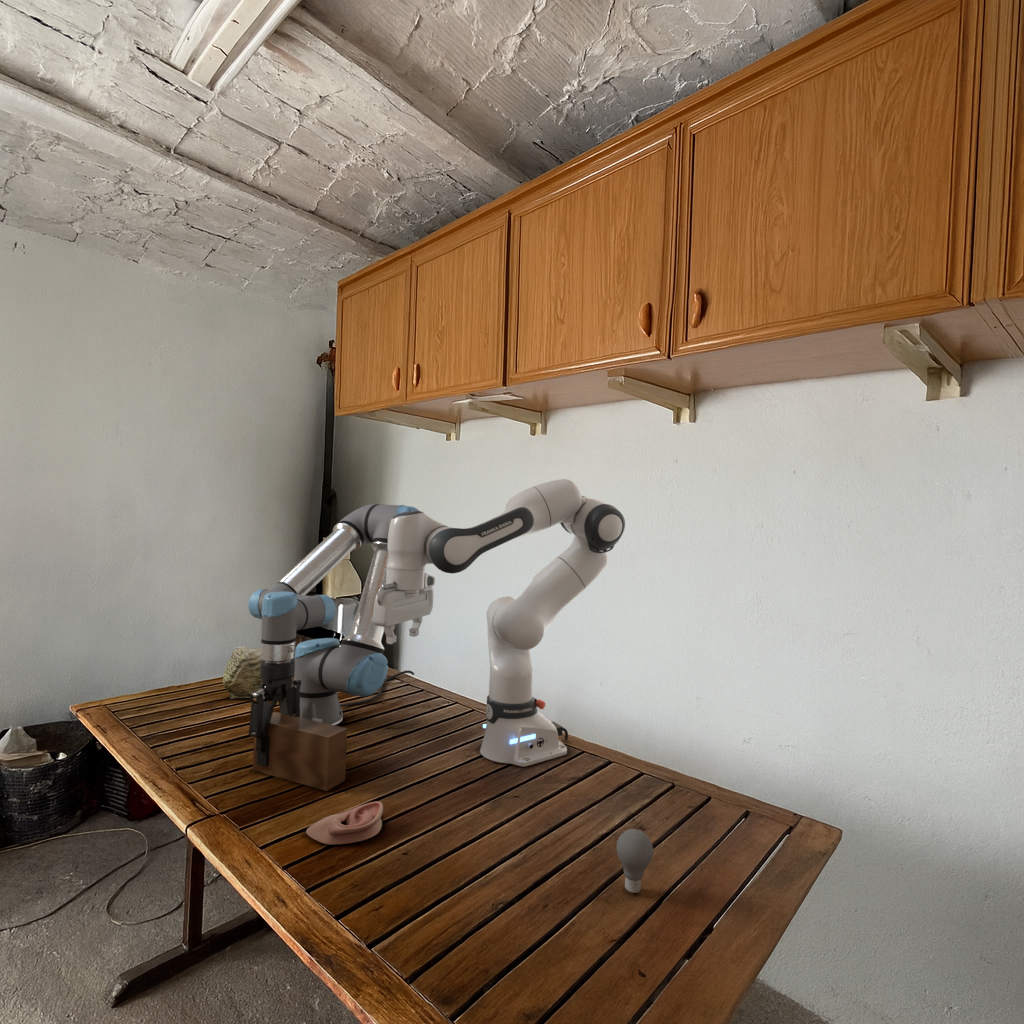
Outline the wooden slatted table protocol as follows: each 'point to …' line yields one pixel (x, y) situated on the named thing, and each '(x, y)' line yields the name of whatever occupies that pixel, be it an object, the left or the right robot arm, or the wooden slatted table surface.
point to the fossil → (243, 672)
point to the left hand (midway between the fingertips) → (274, 758)
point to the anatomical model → (348, 825)
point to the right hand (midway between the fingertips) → (402, 639)
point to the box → (305, 751)
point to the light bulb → (634, 857)
